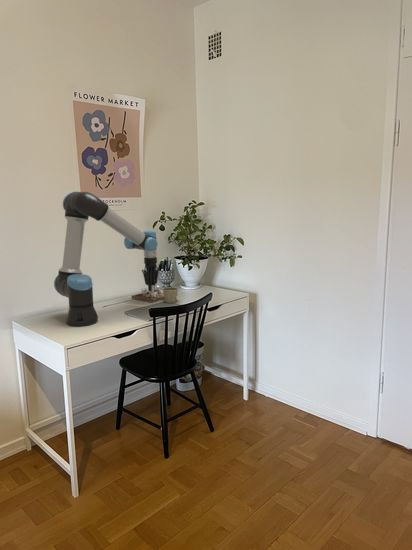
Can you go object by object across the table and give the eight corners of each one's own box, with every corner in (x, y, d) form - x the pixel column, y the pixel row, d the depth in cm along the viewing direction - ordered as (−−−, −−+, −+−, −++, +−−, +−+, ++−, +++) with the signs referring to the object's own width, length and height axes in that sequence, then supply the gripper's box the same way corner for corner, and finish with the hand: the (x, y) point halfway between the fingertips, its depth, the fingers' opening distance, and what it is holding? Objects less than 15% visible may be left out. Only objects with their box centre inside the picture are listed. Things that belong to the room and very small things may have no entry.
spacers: (155, 301, 246) (154, 293, 245) (137, 297, 254) (137, 289, 253) (174, 295, 259) (174, 287, 258) (157, 292, 268) (157, 284, 267)
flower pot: (159, 303, 246) (158, 288, 245) (172, 300, 253) (171, 286, 251) (168, 306, 239) (168, 291, 238) (181, 303, 246) (181, 288, 244)
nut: (151, 300, 248) (150, 296, 247) (143, 300, 248) (143, 296, 248) (153, 298, 253) (153, 294, 252) (146, 298, 253) (145, 294, 253)
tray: (152, 304, 243) (151, 299, 242) (131, 300, 253) (131, 295, 252) (177, 297, 260) (177, 292, 259) (157, 293, 270) (157, 289, 269)
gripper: (146, 258, 241) (148, 298, 246) (162, 256, 251) (163, 294, 256) (137, 257, 246) (139, 297, 250) (153, 255, 256) (154, 292, 260)
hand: (151, 295), depth 253 cm, fingers closed
